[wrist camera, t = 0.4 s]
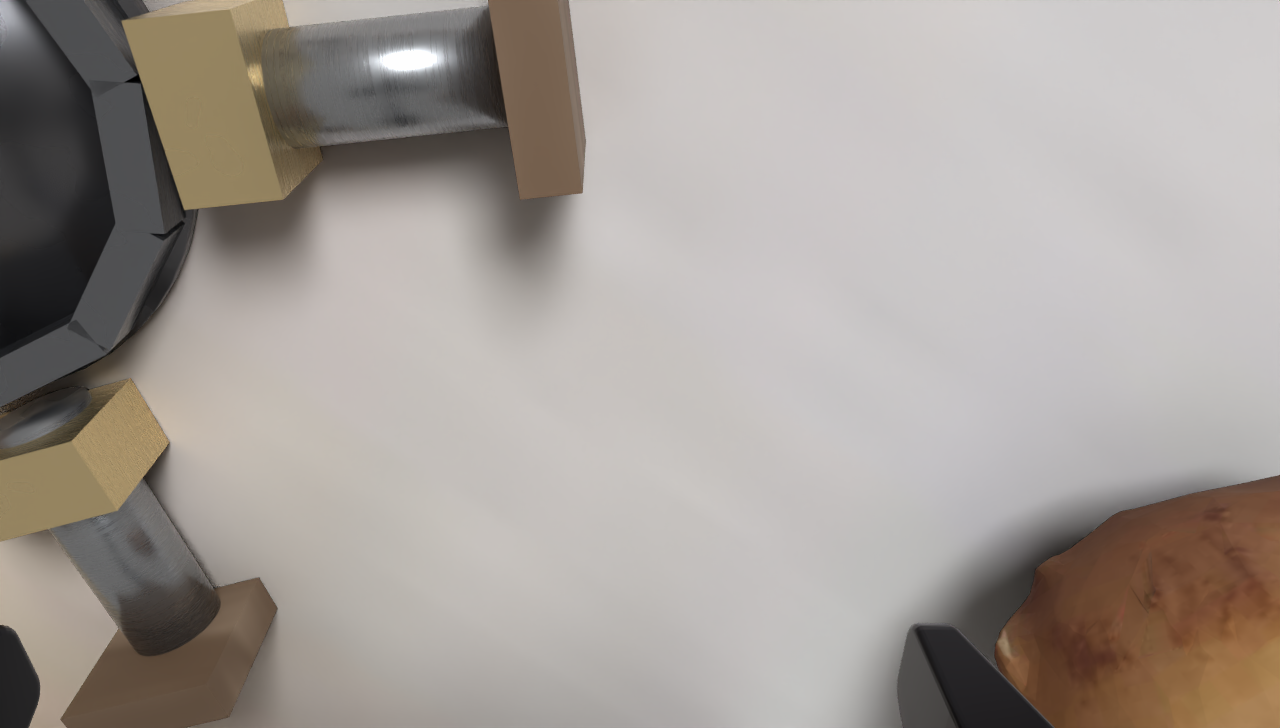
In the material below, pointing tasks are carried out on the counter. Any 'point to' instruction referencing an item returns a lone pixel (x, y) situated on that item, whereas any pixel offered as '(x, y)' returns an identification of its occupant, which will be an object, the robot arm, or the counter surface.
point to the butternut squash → (1158, 618)
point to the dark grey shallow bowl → (78, 192)
